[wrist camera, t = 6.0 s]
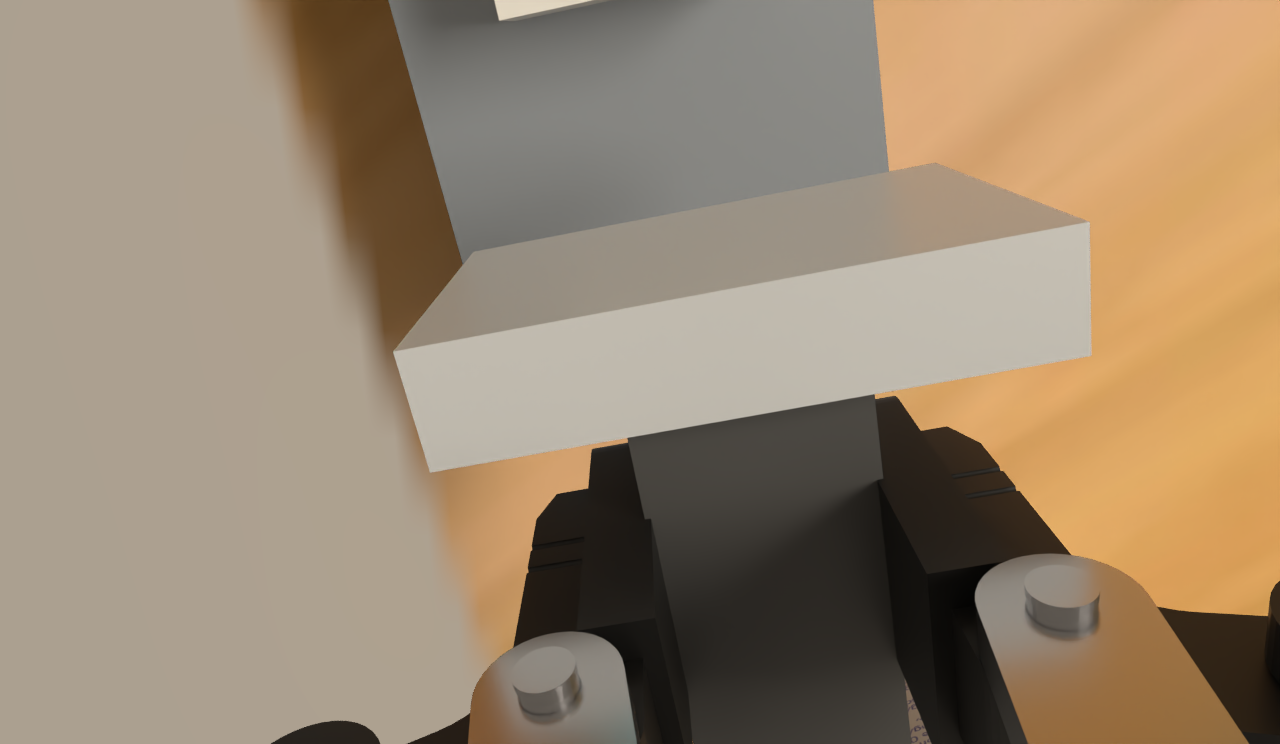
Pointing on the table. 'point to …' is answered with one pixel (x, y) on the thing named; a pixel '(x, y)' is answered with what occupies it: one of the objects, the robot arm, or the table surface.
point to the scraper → (755, 405)
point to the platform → (638, 107)
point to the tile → (536, 7)
